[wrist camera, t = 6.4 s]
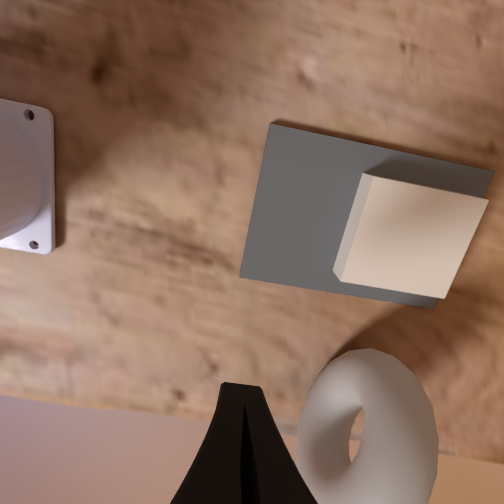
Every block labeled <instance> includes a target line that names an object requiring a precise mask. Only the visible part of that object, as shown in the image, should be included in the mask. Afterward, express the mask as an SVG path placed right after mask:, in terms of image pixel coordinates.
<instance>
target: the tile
mask: <svg viewBox="0 0 504 504" xmlns="http://www.w3.org/2000/svg"><path fill="white" fill-rule="evenodd" d="M488 202H489V200H487V199H483V198H480V197H476V196H472V195H468V194H463V193H458V192H453V191H448V190H444V189H439V188H434V187H429V186H424V185H419V184H414V183H410V182H405V181H400V180H395V179H390V178H385V177H380V176H375V175H371V174H366V173H362V176H361V180H360V183H359V186H358V189H357V193H356V196H355V199H354V202H353V206H352V209H351V212H350V215H349V219H348V222H347V225H346V228H345V232H344V235H343V238H342V241H341V245H340V248H339V251H338V254H337V258H336V261H335V264H334V267H333V271H334V273H335V274H336V276H337V277H338V279H339V280H340V281H341V282H347V283H353V284H359V285H365V286H371V287H377V288H383V289H389V290H395V291H401V292H407V293H413V294H419V295H425V296H430V297H436V298H442V299H445V297H446V295H447V292H448V290H449V288H450V286H451V284H452V281H453V279H454V277H455V275H456V273H457V270H458V268H459V266H460V264H461V262H462V259H463V257H464V255H465V253H466V250H467V248H468V246H469V244H470V242H471V239H472V237H473V235H474V233H475V231H476V228H477V226H478V224H479V222H480V220H481V217H482V215H483V213H484V211H485V208H486V206H487V204H488Z"/></svg>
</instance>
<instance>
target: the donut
mask: <svg viewBox="0 0 504 504" xmlns="http://www.w3.org/2000/svg"><path fill="white" fill-rule="evenodd" d="M362 408H363V410H364V430H363V436H362V441H361V444H360V447H359V450H358V452H357V455H356V456H355V458H354V459H353V461H352V462H351V461H350V457H349V439H350V433H351V428H352V426H353V423H354V420H355V418H356V416H357V415H358V413H359V412H360V410H361V409H362ZM438 442H439V438H438V433H437V428H436V423H435V418H434V413H433V408H432V405H431V403H430V401H429V399H428V397H427V395H426V393H425V391H424V389H423V387H422V385H421V383H420V381H419V380H418V378H417V377H416V375H415V374H414V373H413V372H411V371H410V370H409V369H408V368H407V367H406V366H405V365H404V364H403V363H402V362H401V361H400V360H399V359H397V358H396V357H395V356H393V355H390V354H387V353H384V352H381V351H379V350H376V349H372V348H366V349H358V350H350V351H347V352H346V353H344V354H342V355H340V356H339V357H337V358H335V359H334V360H332V361H331V362H330V363H329V364H328V365H327V366H326V367H325V368H324V369H323V370H322V371H321V372H320V373H319V375H318V377H317V378H316V380H315V382H314V383H313V385H312V387H311V388H310V390H309V393H308V395H307V398H306V400H305V403H304V405H303V408H302V412H301V416H300V421H299V425H298V430H297V441H296V465H297V469H298V471H299V472H300V474H301V476H302V478H303V480H304V481H305V483H306V485H307V486H308V488H309V490H310V492H311V493H312V495H313V496H314V498H315V500H316V501H317V503H318V504H428V501H429V498H430V495H431V492H432V489H433V486H434V482H435V479H436V476H437V462H438V461H437V460H438Z"/></svg>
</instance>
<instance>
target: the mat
mask: <svg viewBox="0 0 504 504" xmlns="http://www.w3.org/2000/svg"><path fill="white" fill-rule="evenodd" d="M362 173H366V174H371V175H375V176H380V177H385V178H390V179H395V180H400V181H405V182H410V183H414V184H419V185H424V186H429V187H434V188H439V189H444V190H448V191H453V192H458V193H463V194H468V195H472V196H476V197H480V198H483V197H484V195H485V193H486V190H487V188H488V186H489V184H490V181H491V179H492V177H493V175H494V171H490V170H485V169H480V168H476V167H471V166H466V165H462V164H457V163H452V162H448V161H443V160H438V159H434V158H429V157H425V156H420V155H415V154H411V153H406V152H401V151H397V150H392V149H387V148H383V147H378V146H373V145H369V144H364V143H360V142H355V141H350V140H346V139H341V138H336V137H332V136H327V135H322V134H318V133H313V132H308V131H304V130H299V129H294V128H290V127H285V126H281V125H276V124H271V123H270V126H269V131H268V136H267V141H266V146H265V151H264V156H263V161H262V166H261V170H260V175H259V180H258V185H257V190H256V195H255V200H254V205H253V210H252V215H251V220H250V225H249V230H248V235H247V240H246V245H245V250H244V255H243V260H242V265H241V270H240V277H241V278H247V279H253V280H259V281H265V282H271V283H277V284H284V285H290V286H296V287H302V288H308V289H314V290H320V291H326V292H332V293H339V294H345V295H351V296H357V297H363V298H369V299H375V300H381V301H387V302H394V303H400V304H406V305H412V306H418V307H424V308H430V309H434V307H435V305H436V303H437V300H438V298H436V297H430V296H425V295H419V294H413V293H407V292H401V291H395V290H389V289H383V288H377V287H371V286H365V285H359V284H353V283H347V282H341V281H340V280H339V279H338V277H337V276H336V274H335V273H334V271H333V267H334V264H335V261H336V258H337V254H338V251H339V248H340V245H341V241H342V238H343V235H344V232H345V228H346V225H347V222H348V219H349V215H350V212H351V209H352V206H353V202H354V199H355V196H356V193H357V189H358V186H359V183H360V180H361V176H362Z"/></svg>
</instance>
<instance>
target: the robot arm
mask: <svg viewBox="0 0 504 504" xmlns="http://www.w3.org/2000/svg"><path fill="white" fill-rule="evenodd" d="M30 110H31V111H32V112H33V113H34V116H35V117H34V119H33V120H31V119H30V118H29V115H28V114H29V111H30ZM33 241H36V242H37V243H38V245H39V247H36V246H35V245H34V243H33ZM0 247H1V248H8V249H14V250H20V251H26V252H33V253H39V254H49V253H51V252H52V251H53V250H54V249H55V183H54V119H53V115H52V113H51V112H50V111H49V110H48V109H47V108H44V107H40V106H35V105H30V104H25V103H21V102H16V101H11V100H6V99H1V98H0ZM170 504H318V503H317V501H316V500H315V498H314V496H313V495H312V493H311V492H310V490H309V488H308V486H307V485H306V483H305V481H304V480H303V478H302V476H301V474H300V472H299V471H298V469H297V467H296V465H295V463H294V461H293V460H292V458H291V456H290V454H289V452H288V450H287V448H286V446H285V444H284V442H283V439H282V437H281V435H280V433H279V431H278V429H277V426H276V424H275V422H274V419H273V417H272V415H271V412H270V410H269V407H268V405H267V402H266V399H265V397H264V394H263V391H262V389H261V387H259V386H252V385H244V384H236V383H228V382H224V383H222V384H221V387H220V392H219V396H218V401H217V406H216V410H215V413H214V416H213V419H212V421H211V424H210V426H209V429H208V431H207V434H206V436H205V438H204V441H203V443H202V445H201V447H200V449H199V451H198V453H197V455H196V457H195V459H194V461H193V464H192V465H191V467H190V469H189V471H188V473H187V475H186V477H185V479H184V480H183V482H182V484H181V486H180V488H179V489H178V491H177V493H176V494H175V496H174V498H173V499H172V501H171V503H170Z"/></svg>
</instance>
